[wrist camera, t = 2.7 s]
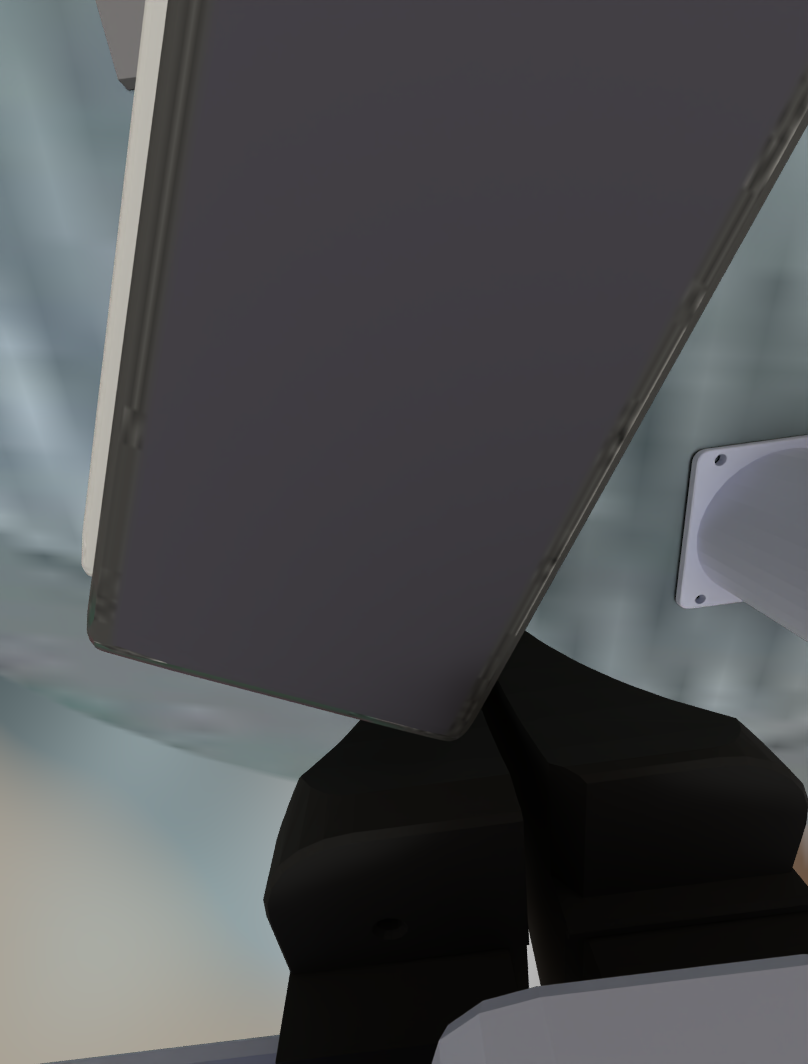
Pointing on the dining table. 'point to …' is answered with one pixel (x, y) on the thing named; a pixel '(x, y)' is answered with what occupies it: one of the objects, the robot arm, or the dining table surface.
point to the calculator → (404, 319)
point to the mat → (123, 35)
